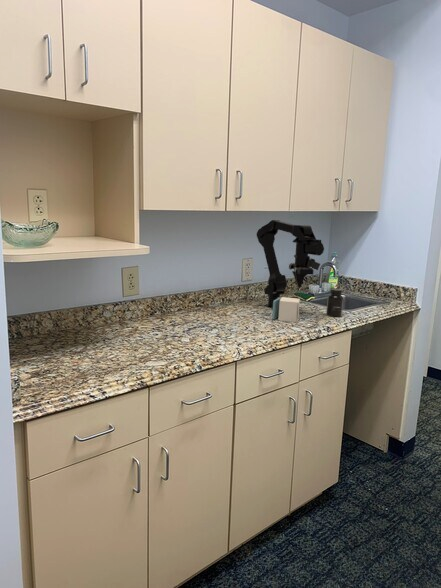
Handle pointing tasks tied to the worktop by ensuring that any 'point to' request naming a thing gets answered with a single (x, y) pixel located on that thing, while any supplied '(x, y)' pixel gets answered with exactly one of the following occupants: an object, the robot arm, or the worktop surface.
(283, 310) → the carton
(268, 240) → the robot arm
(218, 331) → the worktop surface
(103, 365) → the worktop surface
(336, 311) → the supplement bottle
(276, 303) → the flap
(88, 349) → the worktop surface
